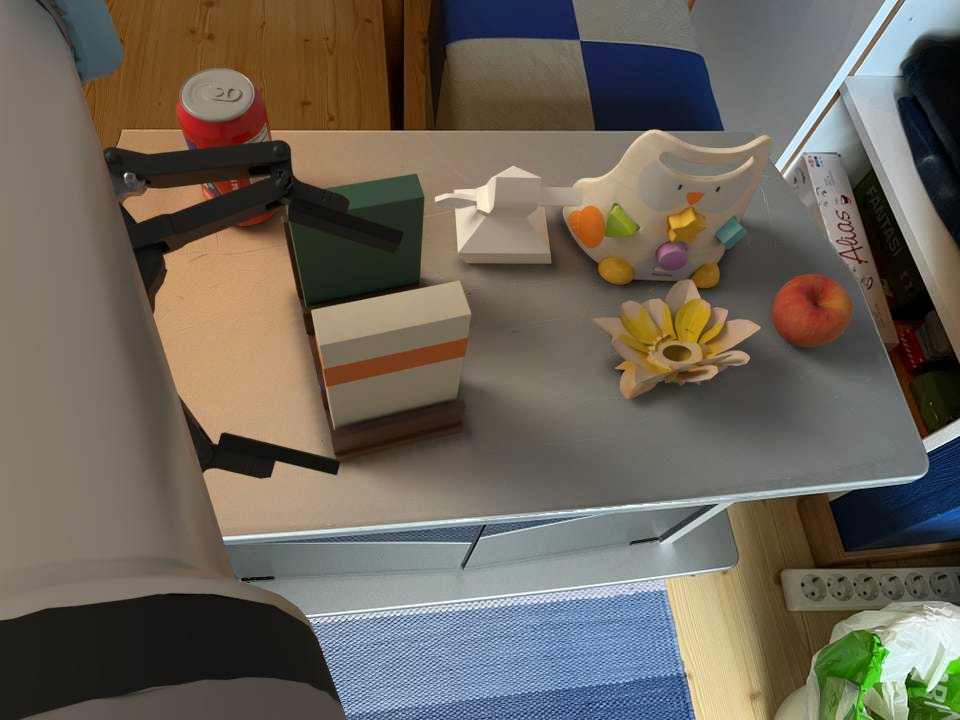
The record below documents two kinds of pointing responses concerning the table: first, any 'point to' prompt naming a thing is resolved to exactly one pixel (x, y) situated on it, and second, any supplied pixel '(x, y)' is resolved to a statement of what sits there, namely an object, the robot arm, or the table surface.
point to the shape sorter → (666, 211)
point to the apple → (811, 310)
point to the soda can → (223, 120)
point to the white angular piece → (506, 217)
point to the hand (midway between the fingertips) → (369, 353)
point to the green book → (357, 267)
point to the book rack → (380, 431)
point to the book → (392, 352)
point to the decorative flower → (674, 340)
